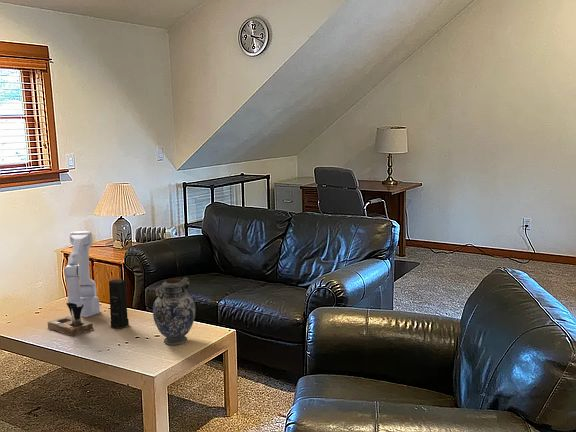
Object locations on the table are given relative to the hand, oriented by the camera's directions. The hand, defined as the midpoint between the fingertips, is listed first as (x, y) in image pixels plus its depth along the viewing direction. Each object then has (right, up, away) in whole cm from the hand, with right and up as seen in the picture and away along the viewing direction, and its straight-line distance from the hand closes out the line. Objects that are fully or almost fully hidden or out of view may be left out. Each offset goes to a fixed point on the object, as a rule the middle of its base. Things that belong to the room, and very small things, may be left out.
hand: (75, 318), depth 269 cm
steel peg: (0, -3, +1) cm, 3 cm away
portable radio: (+19, -5, +6) cm, 20 cm away
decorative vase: (+50, -8, -15) cm, 53 cm away
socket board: (-4, -6, +4) cm, 8 cm away
